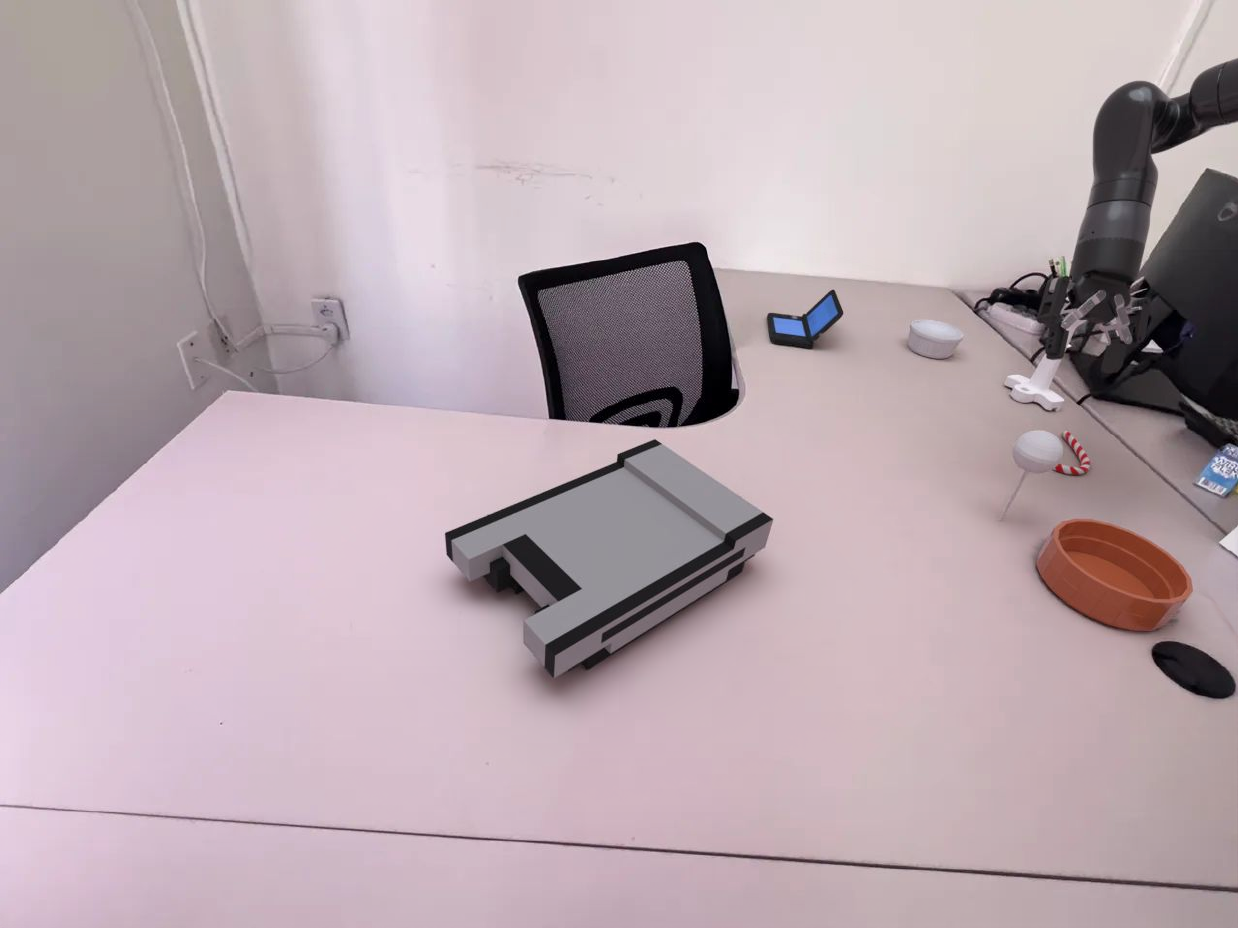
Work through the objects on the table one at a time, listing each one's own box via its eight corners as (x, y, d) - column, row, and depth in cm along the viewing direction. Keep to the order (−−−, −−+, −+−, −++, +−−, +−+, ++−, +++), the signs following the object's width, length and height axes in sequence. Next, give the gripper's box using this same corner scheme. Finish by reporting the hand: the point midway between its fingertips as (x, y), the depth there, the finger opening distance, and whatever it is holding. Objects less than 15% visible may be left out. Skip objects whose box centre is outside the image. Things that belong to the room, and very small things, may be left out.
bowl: (1140, 564, 90) (1162, 534, 87) (1188, 648, 78) (1216, 616, 75) (1022, 538, 92) (1040, 507, 89) (1051, 614, 80) (1073, 583, 77)
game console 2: (448, 577, 76) (444, 524, 72) (648, 486, 95) (654, 439, 90) (552, 701, 64) (555, 646, 59) (758, 568, 82) (773, 519, 78)
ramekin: (910, 335, 152) (918, 314, 149) (960, 351, 147) (969, 329, 144) (896, 350, 145) (904, 327, 142) (948, 366, 140) (958, 344, 137)
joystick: (1063, 410, 127) (1117, 313, 116) (1036, 414, 125) (1088, 315, 113) (1017, 383, 136) (1063, 290, 124) (991, 386, 133) (1035, 292, 122)
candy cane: (1087, 435, 117) (1093, 476, 106) (1084, 441, 117) (1089, 482, 106) (1040, 422, 119) (1040, 460, 108) (1036, 428, 120) (1037, 466, 109)
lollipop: (987, 501, 99) (1031, 417, 91) (1027, 521, 96) (1077, 435, 87) (972, 517, 95) (1016, 431, 87) (1013, 538, 92) (1064, 451, 84)
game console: (765, 317, 154) (774, 280, 149) (824, 325, 153) (834, 288, 148) (769, 344, 141) (778, 304, 136) (832, 353, 140) (844, 313, 135)
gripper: (1087, 224, 82) (1058, 352, 82) (1183, 250, 84) (1154, 375, 84) (1040, 240, 89) (1014, 357, 90) (1130, 263, 91) (1103, 378, 92)
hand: (1082, 365), depth 87 cm, fingers open, 8 cm apart
